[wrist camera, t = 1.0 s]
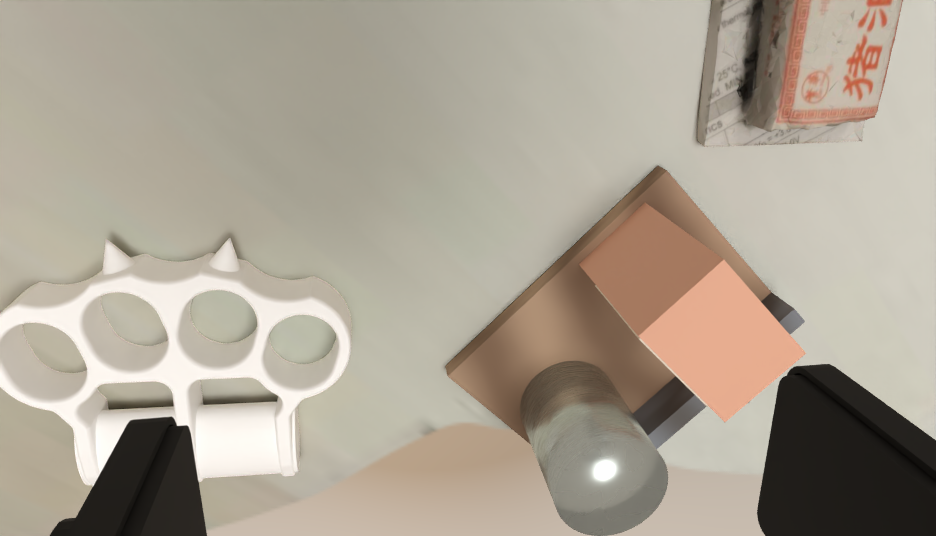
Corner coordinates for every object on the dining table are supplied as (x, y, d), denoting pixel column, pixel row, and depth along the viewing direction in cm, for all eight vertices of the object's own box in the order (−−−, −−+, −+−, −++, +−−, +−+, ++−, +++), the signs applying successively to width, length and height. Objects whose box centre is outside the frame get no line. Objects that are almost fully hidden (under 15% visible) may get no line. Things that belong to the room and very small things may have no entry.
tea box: (715, 281, 41) (805, 353, 33) (650, 339, 42) (722, 424, 34) (644, 202, 39) (723, 259, 31) (577, 265, 40) (636, 338, 31)
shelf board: (658, 165, 39) (686, 181, 36) (771, 297, 44) (806, 322, 41) (445, 366, 42) (453, 398, 39) (572, 471, 46) (589, 508, 43)
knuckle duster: (42, 467, 41) (-10, 229, 36) (354, 448, 44) (349, 225, 38) (17, 506, 38) (-44, 251, 33) (354, 483, 41) (348, 246, 35)
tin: (572, 342, 41) (619, 417, 34) (634, 399, 44) (691, 482, 36) (499, 408, 42) (530, 496, 35) (563, 461, 45) (605, 554, 37)
